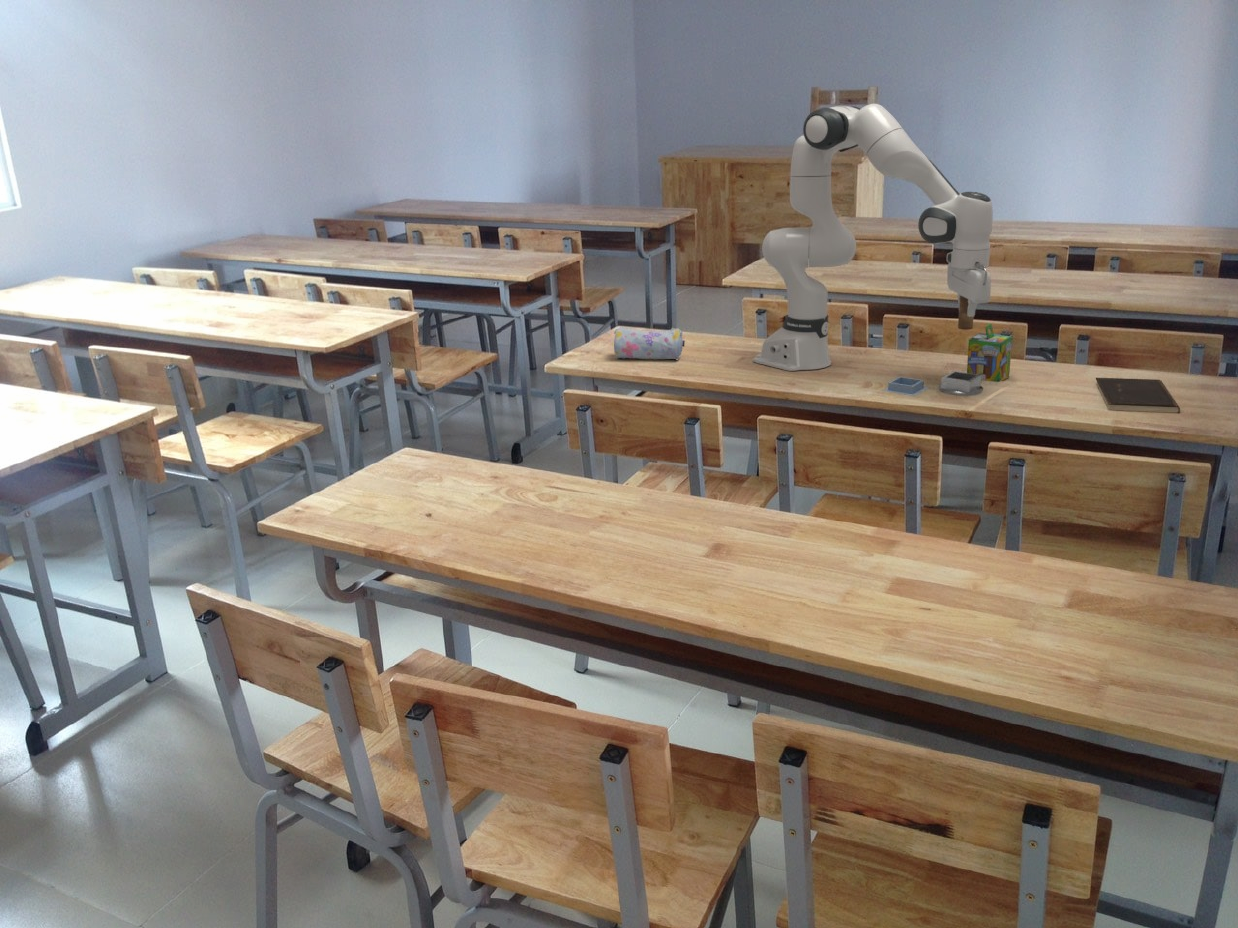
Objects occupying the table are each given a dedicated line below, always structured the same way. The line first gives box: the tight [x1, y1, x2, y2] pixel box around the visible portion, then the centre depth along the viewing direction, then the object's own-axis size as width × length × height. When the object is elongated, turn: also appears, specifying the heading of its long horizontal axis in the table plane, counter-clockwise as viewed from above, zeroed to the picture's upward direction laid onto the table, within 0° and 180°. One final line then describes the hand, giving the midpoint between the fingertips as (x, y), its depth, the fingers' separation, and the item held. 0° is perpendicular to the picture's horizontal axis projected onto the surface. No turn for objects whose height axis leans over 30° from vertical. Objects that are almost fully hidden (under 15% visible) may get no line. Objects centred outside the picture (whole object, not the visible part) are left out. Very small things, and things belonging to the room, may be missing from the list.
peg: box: [957, 296, 974, 331], centre depth 274 cm, size 4×4×8 cm
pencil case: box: [613, 326, 686, 360], centre depth 323 cm, size 21×9×10 cm, turn 79°
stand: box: [882, 376, 930, 397], centre depth 283 cm, size 9×9×3 cm
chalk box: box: [966, 323, 1013, 383], centre depth 290 cm, size 9×9×15 cm
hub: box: [938, 370, 984, 397], centre depth 281 cm, size 11×11×4 cm
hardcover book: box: [1095, 377, 1181, 414], centre depth 272 cm, size 16×23×2 cm
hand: (966, 314), depth 274 cm, fingers closed on peg, 4 cm apart
